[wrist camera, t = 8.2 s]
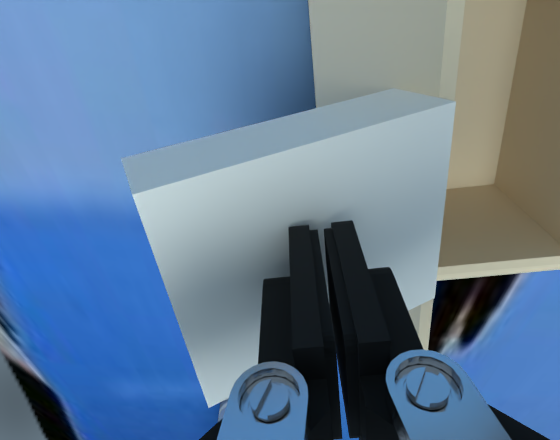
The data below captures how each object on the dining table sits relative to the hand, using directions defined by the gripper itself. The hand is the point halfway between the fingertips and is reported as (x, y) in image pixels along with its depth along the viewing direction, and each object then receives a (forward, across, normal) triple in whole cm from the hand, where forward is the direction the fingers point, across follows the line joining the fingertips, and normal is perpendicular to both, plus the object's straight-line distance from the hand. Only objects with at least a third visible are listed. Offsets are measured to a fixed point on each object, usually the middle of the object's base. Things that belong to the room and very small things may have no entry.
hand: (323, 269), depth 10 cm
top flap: (+6, -3, 0) cm, 7 cm away
